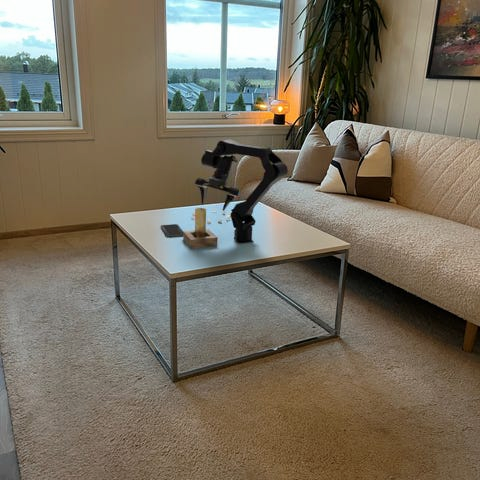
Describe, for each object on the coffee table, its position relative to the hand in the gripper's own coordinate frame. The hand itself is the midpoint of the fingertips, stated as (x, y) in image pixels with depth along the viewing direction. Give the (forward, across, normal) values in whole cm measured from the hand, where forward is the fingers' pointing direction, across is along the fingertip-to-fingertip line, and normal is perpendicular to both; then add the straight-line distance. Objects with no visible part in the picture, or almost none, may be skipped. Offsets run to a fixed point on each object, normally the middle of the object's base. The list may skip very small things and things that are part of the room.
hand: (212, 207), depth 193 cm
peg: (+15, 0, -3) cm, 15 cm away
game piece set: (+7, -8, +31) cm, 33 cm away
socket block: (+15, 0, -3) cm, 15 cm away
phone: (+16, -16, +6) cm, 23 cm away
